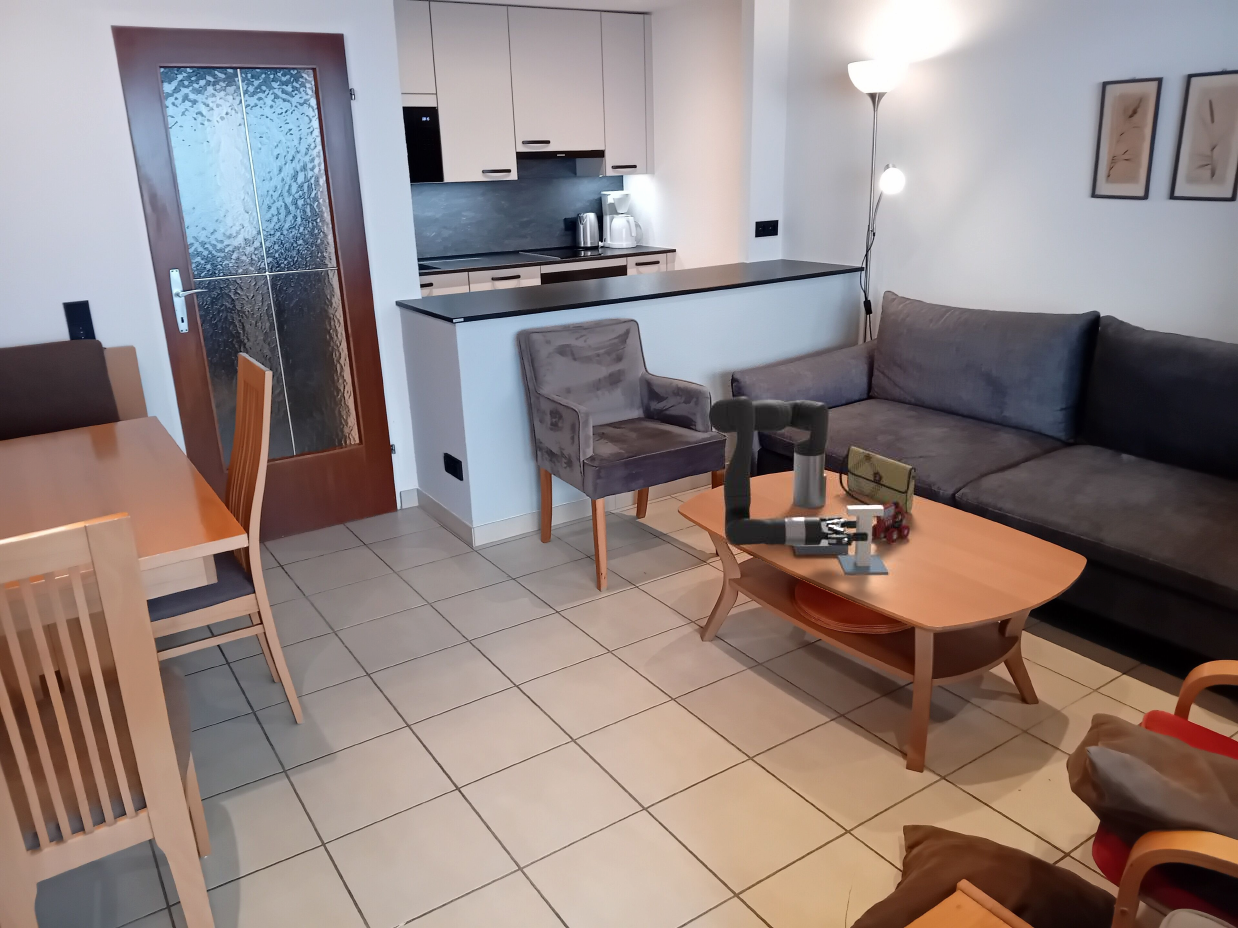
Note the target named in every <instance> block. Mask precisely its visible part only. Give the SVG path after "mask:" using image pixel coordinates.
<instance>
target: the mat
mask: <svg viewBox="0 0 1238 928" xmlns="http://www.w3.org/2000/svg"><path fill="white" fill-rule="evenodd" d="M837 558H838V562H839V563H840V565H841V568H842V571H843V573H844V574H845V575H887V574H888V575H889V571H888V568H887V567H886V565H885V563H884V561H883V560H882V558H881V556H880V554H875V553H874V554H871V559H870V566H857V565H856V563H855V561H854V559H855V554H837Z"/></svg>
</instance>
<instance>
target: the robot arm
mask: <svg viewBox="0 0 1238 928" xmlns="http://www.w3.org/2000/svg"><path fill="white" fill-rule="evenodd" d="M829 414H830V411H829V408H828V406H827V404H826V403H825V402H821V401H820V402H819V401H813V400H808V399H807V400H806V399H796V400H792V401H784V400H780V399H771V398H770V399H769V398H768V399H760V400H758V399H757V400H753V401H752V400H751V399H750V398H749V397H747V396H736V397H735V396H734V397H728V398H723V399H720V400H717V401H715V402H714V403H713V404H712V406H710V408H709V411H708V419H709V424H710V425H711V426H712V428H713V429H714V430H715V431H717V432H719V433H721V434H729V433H736V444H735V448H734V450H733V453H732V456H731V458H730V460H729V463H728V465H727V466H726V470H725V472H724V475H723V476H724V477H723V498H724V506H725V507H724V508H725V509H724V510H725V513H724V535H725V538H726V540H727V542H728V543H730V544H731V545H733V546H738V547H739V546H751V545H761V544H762V545H763V544H764V545H768V546H772V545H773V546H780V545H781V546H782V545H784V546H793V547H794V546H800V545H820V544H821V541H822V540H823V539H824V540H828V545H830V546H848V547H849V546H852V545H853V542H855V541H867V540H868V534H867V532H856V531H855V532H851V531H847V530H846V529H853V530H854V529H856V519H846V518H843V516H841V515H836V516H835V515H833V516H820V517H819V516H791V517H781V518H779V517H778V518H777V517H776V518H775V517H774V518H773V517H772V518H771V517H770V518H751V512H750V509H751V502H752V497H751V496H752V495H751V494H752V493H751V491H752V490H751V463H752V453H753V444H754V438H755V437H754V435H755V432H768V433H769V432H780V431H782V430H785V429H786V428H793V429H797V430H800V431H805V432H806V431H807V432H809V438H803V439H800V440H798V441H796V442H794V443H795V444H794V449H793V450H794V453H793V456H794V457H793V489H792V490H793V491H792V495H793V496H792V503H793V505H794V506H795V507H797V508H800V509H808V510H812V509H818V508H821V507H822V506H823V505H826V500H827V475H826V474H825V457H826V456H825V455H826V454H825V453H826V452H825V451H826V445H827V441H828V431H829V430H828V428H829V421H830V420H829V418H830V415H829ZM844 541H845V542H844Z"/></svg>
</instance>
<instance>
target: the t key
mask: <svg viewBox="0 0 1238 928" xmlns="http://www.w3.org/2000/svg"><path fill="white" fill-rule="evenodd" d="M883 506H884V505H881V504H879V505H878V504H873V505H872V504H870V505H865V504H864V505H862V504H861V505H846V511H845V512H846V515H847V516H848V517H856V519H855V520H856V528H855V532H867V534H868V540H867V541H854V543H855V544H854V555H855V559H854V561H855V563H856V565H857V566H870V559H871V555H872V554H871V553H872V539H873V537H872V526H873V523H874V522H873V520H874V517H876V516H883V514H884V508H883Z"/></svg>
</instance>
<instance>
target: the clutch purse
mask: <svg viewBox="0 0 1238 928" xmlns="http://www.w3.org/2000/svg"><path fill="white" fill-rule="evenodd" d="M845 463H846V465H845ZM844 465H845V466H846V469H847V474H846V475H847V477H846V486H847V488H846V487H845V486H844V483H843V471H844ZM916 469H917V468H915V466H911V465H908V464H905V463H902V462H899V461H896V460H893V459H890V458H887V457H885V456H882V455H878V454H876V453H873V452H870V451H867V450H864V449H862V448H859V447H855V446H853V445H850V446H849V447H848V449H847V452H846V454H845V455H844V457H843V458H842V461H841V464H840V467H839V471H838V472H839V473H838V474H839V475H838V479H839V485H840V487H841V489H842V490H843V491H844V492H845V493H846V494H847V495H848V496H850V497H851V498H852V499H854V500H857V501H858V502H860V503H862V504H864V505H871V504H870V503H868V502H866V501H865V500H862V499H860V498H858V497H857V496H855V495H854V494H852V493H851V492H850V491H848V490H851V491H853V492H856V493H858V494H860V495H863V496H865V497H868V498H871V499H873V500H875V501H878V502H881V503H883V504H885V505H887V504H892V503H893V502H894V501H898V502H899V503H900V506H902V508H903V511H904V513H905V512H906V513H907V514H910V513H911V512H912V509H913V504H914V492H915V491H914V490H915V486H916V483H915V480H916V472H917V471H916ZM847 489H848V490H847Z"/></svg>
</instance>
